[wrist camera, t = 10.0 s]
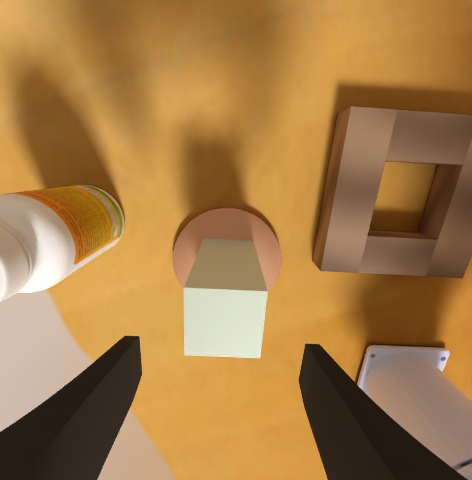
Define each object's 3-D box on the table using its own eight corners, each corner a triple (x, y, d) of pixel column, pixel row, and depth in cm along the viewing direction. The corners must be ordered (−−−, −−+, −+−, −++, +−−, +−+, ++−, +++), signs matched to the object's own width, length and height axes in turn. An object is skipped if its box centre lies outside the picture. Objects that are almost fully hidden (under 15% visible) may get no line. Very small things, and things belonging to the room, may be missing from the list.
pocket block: (441, 267, 20) (462, 277, 18) (312, 260, 20) (320, 270, 18) (491, 124, 17) (524, 118, 15) (337, 113, 17) (351, 106, 15)
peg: (249, 284, 20) (260, 358, 12) (203, 282, 20) (184, 355, 12) (253, 240, 19) (267, 291, 11) (203, 238, 19) (183, 287, 11)
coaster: (273, 307, 21) (275, 311, 21) (175, 303, 21) (174, 306, 21) (286, 210, 19) (287, 212, 18) (173, 204, 18) (171, 205, 18)
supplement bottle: (79, 168, 18) (-94, 171, 8) (139, 214, 19) (47, 262, 9) (45, 222, 19) (-138, 276, 9) (104, 262, 20) (-9, 345, 11)
